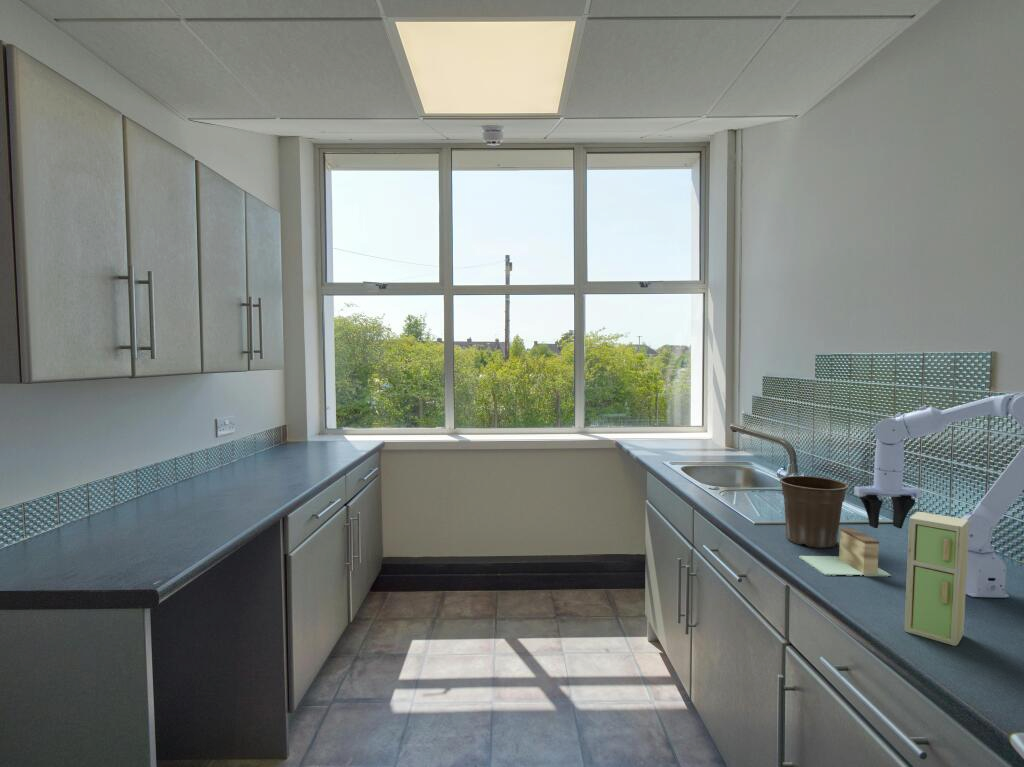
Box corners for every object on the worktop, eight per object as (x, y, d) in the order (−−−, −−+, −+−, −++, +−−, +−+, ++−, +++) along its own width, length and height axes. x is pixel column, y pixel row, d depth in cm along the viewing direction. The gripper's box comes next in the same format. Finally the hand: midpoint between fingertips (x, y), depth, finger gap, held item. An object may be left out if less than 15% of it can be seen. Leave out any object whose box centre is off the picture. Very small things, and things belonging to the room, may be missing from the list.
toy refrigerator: (901, 632, 108) (907, 517, 107) (911, 620, 113) (917, 510, 112) (955, 648, 102) (963, 527, 101) (963, 635, 108) (970, 519, 107)
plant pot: (803, 552, 151) (806, 489, 151) (764, 533, 167) (767, 476, 166) (859, 549, 155) (863, 487, 154) (816, 531, 170) (819, 475, 170)
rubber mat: (890, 576, 136) (890, 574, 136) (824, 575, 136) (824, 573, 136) (859, 558, 148) (859, 556, 148) (798, 557, 148) (798, 555, 148)
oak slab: (877, 574, 136) (879, 541, 136) (863, 574, 136) (865, 541, 136) (851, 559, 146) (853, 528, 146) (838, 558, 146) (840, 528, 146)
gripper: (908, 466, 144) (904, 522, 145) (847, 465, 144) (845, 521, 144) (928, 472, 137) (925, 531, 138) (865, 471, 137) (862, 530, 137)
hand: (885, 527), depth 140 cm, fingers open, 5 cm apart
